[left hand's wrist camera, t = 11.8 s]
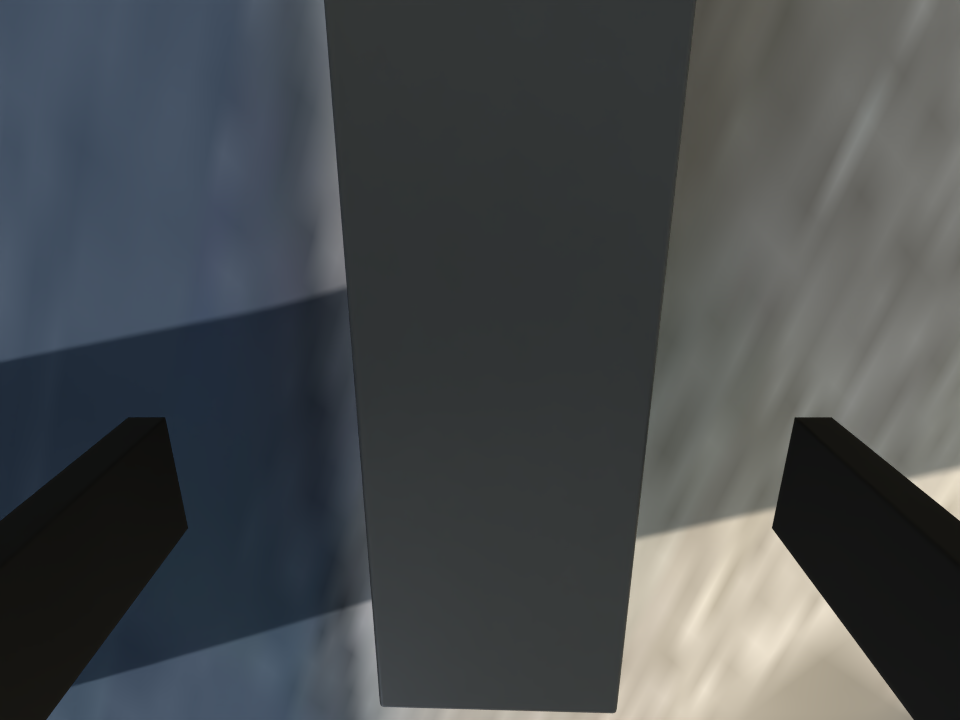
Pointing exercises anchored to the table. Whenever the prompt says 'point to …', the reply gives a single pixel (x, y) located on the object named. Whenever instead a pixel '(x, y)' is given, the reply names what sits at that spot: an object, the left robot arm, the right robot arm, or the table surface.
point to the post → (504, 328)
